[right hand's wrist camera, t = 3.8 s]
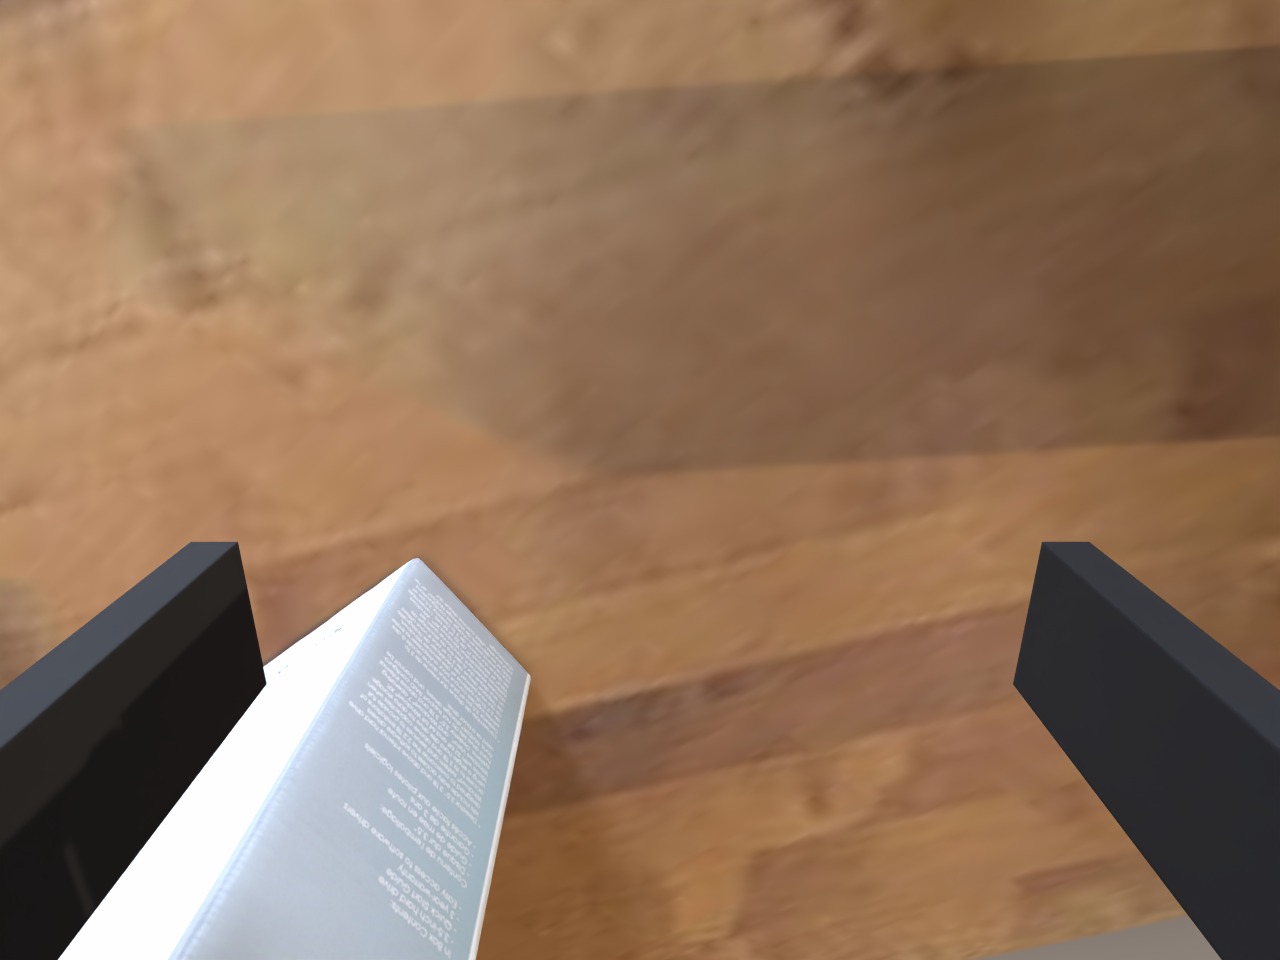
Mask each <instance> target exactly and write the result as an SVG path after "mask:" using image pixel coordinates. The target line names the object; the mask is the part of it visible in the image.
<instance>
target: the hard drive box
mask: <svg viewBox="0 0 1280 960" xmlns="http://www.w3.org/2000/svg"><path fill="white" fill-rule="evenodd" d="M263 668H264V673H265V678H266V683H267V685H266V686H265V687H264V689H263V690H262V691H261V693H260V694H259V695H258V697H257V698H256V699H255V700H254V702H253V703H252V704H251V706H250V707H249V708H248V710H247V711H246V712H245V714H244V715H243V716H242V718H241V719H240V720H239V722H238V723H237V724H236V726H235V727H234V728H233V730H232V731H231V732H230V733H229V735H228V736H227V737H226V739H225V740H224V741H223V743H222V744H221V745H220V747H219V748H218V749H217V751H216V752H215V753H214V755H213V756H212V757H211V759H210V760H209V761H208V763H207V764H206V765H205V766H204V768H203V769H202V770H201V772H200V773H199V774H198V776H197V777H196V778H195V780H194V781H193V782H192V784H191V785H190V786H189V788H188V789H187V790H186V792H185V793H184V794H183V796H182V797H181V798H180V799H179V801H178V802H177V803H176V805H175V806H174V807H173V809H172V810H171V811H170V813H169V814H168V815H167V817H166V818H165V819H164V821H163V822H162V823H161V825H160V826H159V827H158V829H157V830H156V831H155V832H154V834H153V835H152V836H151V838H150V839H149V840H148V842H147V843H146V844H145V846H144V847H143V848H142V850H141V851H140V852H139V854H138V855H137V856H136V858H135V859H134V860H133V862H132V863H131V864H130V865H129V867H128V868H127V869H126V871H125V872H124V873H123V875H122V876H121V877H120V879H119V880H118V881H117V883H116V884H115V885H114V887H113V888H112V889H111V891H110V892H109V893H108V895H107V896H106V897H105V899H104V900H103V901H102V902H101V904H100V905H99V906H98V908H97V909H96V910H95V912H94V913H93V914H92V916H91V917H90V918H89V920H88V921H87V922H86V924H85V925H84V926H83V928H82V929H81V930H80V932H79V933H78V934H77V935H76V937H75V938H74V939H73V941H72V942H71V943H70V945H69V946H68V947H67V949H66V950H65V951H64V953H63V954H62V955H61V957H60V958H59V959H58V960H476V955H477V950H478V945H479V940H480V935H481V930H482V925H483V920H484V914H485V909H486V904H487V899H488V894H489V889H490V884H491V879H492V874H493V868H494V863H495V858H496V853H497V848H498V843H499V838H500V833H501V828H502V822H503V817H504V812H505V807H506V802H507V797H508V792H509V787H510V783H511V778H512V773H513V768H514V762H515V757H516V752H517V747H518V742H519V737H520V732H521V727H522V721H523V716H524V710H525V705H526V700H527V695H528V690H529V685H530V681H531V677H530V675H529V674H528V673H527V672H526V671H525V669H524V668H523V667H522V666H521V665H520V664H519V663H518V662H517V661H516V660H515V659H514V658H513V656H512V655H511V654H510V653H509V652H508V651H507V650H506V649H505V648H504V647H503V646H502V645H501V644H500V643H499V642H498V641H497V639H496V638H495V637H494V636H493V635H492V634H491V633H490V632H489V631H488V630H487V629H486V628H485V627H484V625H483V624H482V623H481V622H480V621H479V620H478V619H477V618H476V617H475V616H474V615H473V614H472V613H471V612H470V611H469V610H468V609H467V608H466V606H465V605H464V604H463V603H462V602H461V601H460V600H459V599H458V598H457V597H456V596H455V595H454V594H453V593H452V592H451V591H450V589H449V588H448V587H447V586H446V585H445V584H444V583H443V582H442V581H441V580H440V579H439V578H438V577H437V576H436V575H435V574H434V573H433V572H432V571H431V570H430V569H429V568H428V567H427V566H426V565H425V564H424V563H423V562H422V561H421V560H420V559H418V558H417V559H413V560H411V561H409V562H408V563H406V564H405V565H404V566H402V567H401V568H400V569H398V570H397V571H395V572H394V573H393V574H391V575H390V576H389V577H387V578H386V579H385V580H383V581H382V582H381V583H380V584H378V585H377V586H376V587H374V588H373V589H371V590H370V591H368V592H367V593H365V594H364V595H362V596H361V597H359V598H358V599H357V600H355V601H354V602H352V603H351V604H350V605H348V606H347V607H346V608H344V609H343V610H342V611H340V612H339V613H338V614H336V615H335V616H334V617H332V618H331V619H330V620H329V621H327V622H326V623H324V624H323V625H321V626H320V627H319V628H317V629H316V630H315V631H313V632H312V633H310V634H309V635H308V636H306V637H305V638H303V639H302V640H300V641H299V642H297V643H296V644H295V645H293V646H292V647H290V648H289V649H288V650H286V651H285V652H284V653H282V654H281V655H280V656H278V657H277V658H275V659H274V660H273V661H271V662H270V663H269V664H267V665H266V666H265V667H263Z"/></svg>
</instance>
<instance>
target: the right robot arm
mask: <svg viewBox="0 0 1280 960" xmlns="http://www.w3.org/2000/svg"><path fill="white" fill-rule="evenodd" d="M266 685H267V683H266V678H265V673H264V668H263V663H262V658H261V653H260V648H259V643H258V638H257V633H256V629H255V624H254V619H253V614H252V609H251V604H250V599H249V594H248V589H247V584H246V580H245V575H244V570H243V565H242V560H241V555H240V550H239V545H238V542H190V543H189V544H188V545H186V546H185V547H184V548H182V549H181V550H180V551H179V552H177V553H176V554H175V555H174V556H172V557H171V558H170V559H168V560H167V561H166V562H165V563H163V564H162V565H161V566H159V567H158V568H157V569H156V570H154V571H153V572H152V573H150V574H149V575H148V576H147V577H145V578H144V579H143V580H141V581H140V582H139V583H138V584H136V585H135V586H134V587H133V588H131V589H130V590H129V591H127V592H126V593H125V594H124V595H122V596H121V597H120V598H118V599H117V600H116V601H115V602H113V603H112V604H111V605H109V606H108V607H107V608H106V609H104V610H103V611H102V612H100V613H99V614H98V615H97V616H95V617H94V618H93V619H91V620H90V621H89V622H88V623H86V624H85V625H84V626H83V627H81V628H80V629H79V630H77V631H76V632H75V633H74V634H72V635H71V636H70V637H68V638H67V639H66V640H65V641H63V642H62V643H61V644H59V645H58V646H57V647H56V648H54V649H53V650H52V651H50V652H49V653H48V654H47V655H45V656H44V657H43V658H42V659H40V660H39V661H38V662H36V663H35V664H34V665H33V666H31V667H30V668H29V669H27V670H26V671H25V672H24V673H22V674H21V675H20V676H18V677H17V678H16V679H15V680H13V681H12V682H11V683H9V684H8V685H7V686H6V687H4V688H3V689H2V690H0V960H58V959H59V958H60V957H61V955H62V954H63V953H64V951H65V950H66V949H67V947H68V946H69V945H70V943H71V942H72V941H73V939H74V938H75V937H76V935H77V934H78V933H79V932H80V930H81V929H82V928H83V926H84V925H85V924H86V922H87V921H88V920H89V918H90V917H91V916H92V914H93V913H94V912H95V910H96V909H97V908H98V906H99V905H100V904H101V902H102V901H103V900H104V899H105V897H106V896H107V895H108V893H109V892H110V891H111V889H112V888H113V887H114V885H115V884H116V883H117V881H118V880H119V879H120V877H121V876H122V875H123V873H124V872H125V871H126V869H127V868H128V867H129V865H130V864H131V863H132V862H133V860H134V859H135V858H136V856H137V855H138V854H139V852H140V851H141V850H142V848H143V847H144V846H145V844H146V843H147V842H148V840H149V839H150V838H151V836H152V835H153V834H154V832H155V831H156V830H157V829H158V827H159V826H160V825H161V823H162V822H163V821H164V819H165V818H166V817H167V815H168V814H169V813H170V811H171V810H172V809H173V807H174V806H175V805H176V803H177V802H178V801H179V799H180V798H181V797H182V796H183V794H184V793H185V792H186V790H187V789H188V788H189V786H190V785H191V784H192V782H193V781H194V780H195V778H196V777H197V776H198V774H199V773H200V772H201V770H202V769H203V768H204V766H205V765H206V764H207V763H208V761H209V760H210V759H211V757H212V756H213V755H214V753H215V752H216V751H217V749H218V748H219V747H220V745H221V744H222V743H223V741H224V740H225V739H226V737H227V736H228V735H229V733H230V732H231V731H232V730H233V728H234V727H235V726H236V724H237V723H238V722H239V720H240V719H241V718H242V716H243V715H244V714H245V712H246V711H247V710H248V708H249V707H250V706H251V704H252V703H253V702H254V700H255V699H256V698H257V697H258V695H259V694H260V693H261V691H262V690H263V689H264V687H265V686H266ZM1013 685H1014V686H1015V687H1016V689H1017V690H1018V691H1019V693H1020V694H1021V695H1022V697H1023V698H1024V699H1025V700H1026V702H1027V703H1028V704H1029V706H1030V707H1031V708H1032V710H1033V711H1034V712H1035V714H1036V715H1037V716H1038V718H1039V719H1040V720H1041V722H1042V723H1043V724H1044V726H1045V727H1046V728H1047V730H1048V731H1049V732H1050V733H1051V735H1052V736H1053V737H1054V739H1055V740H1056V741H1057V743H1058V744H1059V745H1060V747H1061V748H1062V749H1063V751H1064V752H1065V753H1066V755H1067V756H1068V757H1069V759H1070V760H1071V761H1072V763H1073V764H1074V765H1075V766H1076V768H1077V769H1078V770H1079V772H1080V773H1081V774H1082V776H1083V777H1084V778H1085V780H1086V781H1087V782H1088V784H1089V785H1090V786H1091V788H1092V789H1093V790H1094V792H1095V793H1096V794H1097V796H1098V797H1099V798H1100V799H1101V801H1102V802H1103V803H1104V805H1105V806H1106V807H1107V809H1108V810H1109V811H1110V813H1111V814H1112V815H1113V817H1114V818H1115V819H1116V821H1117V822H1118V823H1119V825H1120V826H1121V827H1122V829H1123V830H1124V831H1125V832H1126V834H1127V835H1128V836H1129V838H1130V839H1131V840H1132V842H1133V843H1134V844H1135V846H1136V847H1137V848H1138V850H1139V851H1140V852H1141V854H1142V855H1143V856H1144V858H1145V859H1146V860H1147V862H1148V863H1149V864H1150V866H1151V867H1152V868H1153V869H1154V871H1155V872H1156V873H1157V875H1158V876H1159V877H1160V879H1161V880H1162V881H1163V883H1164V884H1165V885H1166V887H1167V888H1168V889H1169V891H1170V892H1171V893H1172V895H1173V896H1174V897H1175V899H1176V900H1177V901H1178V902H1179V904H1180V905H1181V906H1182V908H1183V909H1184V910H1185V912H1186V913H1187V914H1188V916H1189V917H1190V918H1191V920H1192V921H1193V922H1194V924H1195V925H1196V926H1197V927H1198V929H1199V930H1200V932H1201V933H1202V934H1203V935H1204V937H1205V938H1206V939H1207V941H1208V942H1209V943H1210V945H1211V946H1212V947H1213V949H1214V950H1215V951H1216V953H1217V954H1218V955H1219V957H1220V958H1221V959H1222V960H1280V690H1278V689H1277V688H1276V687H1274V686H1273V685H1272V684H1271V683H1269V682H1268V681H1267V680H1265V679H1264V678H1263V677H1262V676H1260V675H1259V674H1258V673H1256V672H1255V671H1254V670H1253V669H1251V668H1250V667H1249V666H1247V665H1246V664H1245V663H1244V662H1242V661H1241V660H1240V659H1238V658H1237V657H1236V656H1235V655H1233V654H1232V653H1231V652H1230V651H1228V650H1227V649H1226V648H1224V647H1223V646H1222V645H1221V644H1219V643H1218V642H1217V641H1215V640H1214V639H1213V638H1212V637H1210V636H1209V635H1208V634H1206V633H1205V632H1204V631H1203V630H1201V629H1200V628H1199V627H1197V626H1196V625H1195V624H1194V623H1192V622H1191V621H1190V620H1189V619H1187V618H1186V617H1185V616H1183V615H1182V614H1181V613H1180V612H1178V611H1177V610H1176V609H1174V608H1173V607H1172V606H1171V605H1169V604H1168V603H1167V602H1165V601H1164V600H1163V599H1162V598H1160V597H1159V596H1158V595H1156V594H1155V593H1154V592H1153V591H1151V590H1150V589H1149V588H1147V587H1146V586H1145V585H1144V584H1142V583H1141V582H1140V581H1139V580H1137V579H1136V578H1135V577H1133V576H1132V575H1131V574H1130V573H1128V572H1127V571H1126V570H1124V569H1123V568H1122V567H1121V566H1119V565H1118V564H1117V563H1115V562H1114V561H1113V560H1112V559H1110V558H1109V557H1108V556H1106V555H1105V554H1104V553H1103V552H1101V551H1100V550H1099V549H1098V548H1096V547H1095V546H1094V545H1092V544H1091V543H1090V542H1042V545H1041V550H1040V555H1039V560H1038V565H1037V570H1036V575H1035V580H1034V584H1033V589H1032V594H1031V599H1030V604H1029V609H1028V614H1027V619H1026V624H1025V629H1024V633H1023V638H1022V643H1021V648H1020V653H1019V658H1018V663H1017V668H1016V673H1015V678H1014V683H1013Z"/></svg>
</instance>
